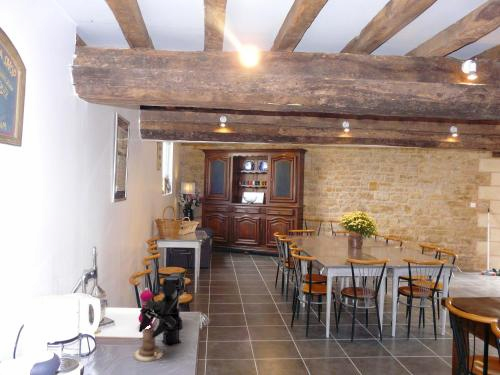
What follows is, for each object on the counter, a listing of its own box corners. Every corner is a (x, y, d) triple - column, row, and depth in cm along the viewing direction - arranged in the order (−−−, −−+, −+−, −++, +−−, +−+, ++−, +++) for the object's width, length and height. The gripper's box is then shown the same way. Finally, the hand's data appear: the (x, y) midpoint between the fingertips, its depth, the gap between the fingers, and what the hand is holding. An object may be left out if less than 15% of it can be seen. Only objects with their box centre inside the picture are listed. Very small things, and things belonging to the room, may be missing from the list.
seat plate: (154, 346, 182) (154, 340, 182) (168, 355, 173) (168, 348, 173) (128, 354, 174) (128, 347, 174) (142, 364, 165) (142, 356, 165)
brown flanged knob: (151, 346, 179) (152, 326, 179) (162, 352, 173) (162, 331, 173) (135, 352, 173) (135, 331, 173) (145, 358, 168) (146, 336, 167)
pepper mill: (149, 330, 201) (150, 290, 200) (135, 329, 202) (136, 289, 201) (155, 325, 208) (156, 286, 207) (142, 324, 209) (143, 285, 209)
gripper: (143, 288, 182) (121, 319, 173) (171, 296, 170) (148, 330, 161) (158, 302, 188) (137, 332, 180) (185, 311, 176) (164, 344, 168)
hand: (146, 334), depth 172 cm, fingers open, 9 cm apart
